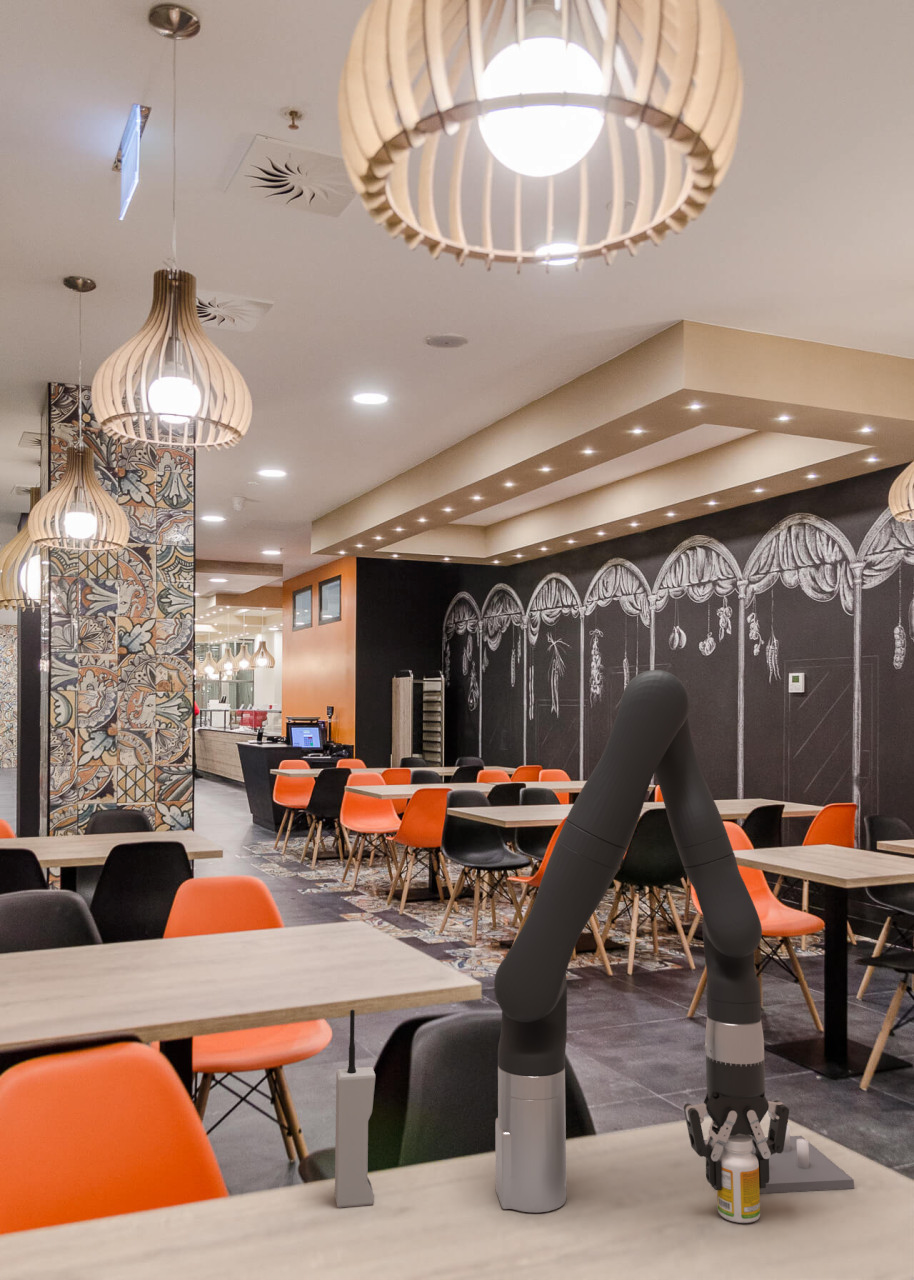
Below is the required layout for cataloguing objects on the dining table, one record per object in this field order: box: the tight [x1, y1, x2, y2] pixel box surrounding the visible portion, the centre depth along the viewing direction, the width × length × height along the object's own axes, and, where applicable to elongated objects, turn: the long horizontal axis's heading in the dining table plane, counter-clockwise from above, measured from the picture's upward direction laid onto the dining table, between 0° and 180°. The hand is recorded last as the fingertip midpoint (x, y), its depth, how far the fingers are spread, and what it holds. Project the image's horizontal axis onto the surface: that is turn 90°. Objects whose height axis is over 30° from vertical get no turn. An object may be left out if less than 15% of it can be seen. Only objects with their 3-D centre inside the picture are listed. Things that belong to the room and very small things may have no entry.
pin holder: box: [704, 1123, 855, 1194], centre depth 146 cm, size 16×16×5 cm
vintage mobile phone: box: [334, 1009, 377, 1209], centre depth 136 cm, size 4×5×25 cm
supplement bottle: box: [716, 1134, 761, 1224], centre depth 131 cm, size 5×5×10 cm
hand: (738, 1186), depth 131 cm, fingers closed on supplement bottle, 5 cm apart
